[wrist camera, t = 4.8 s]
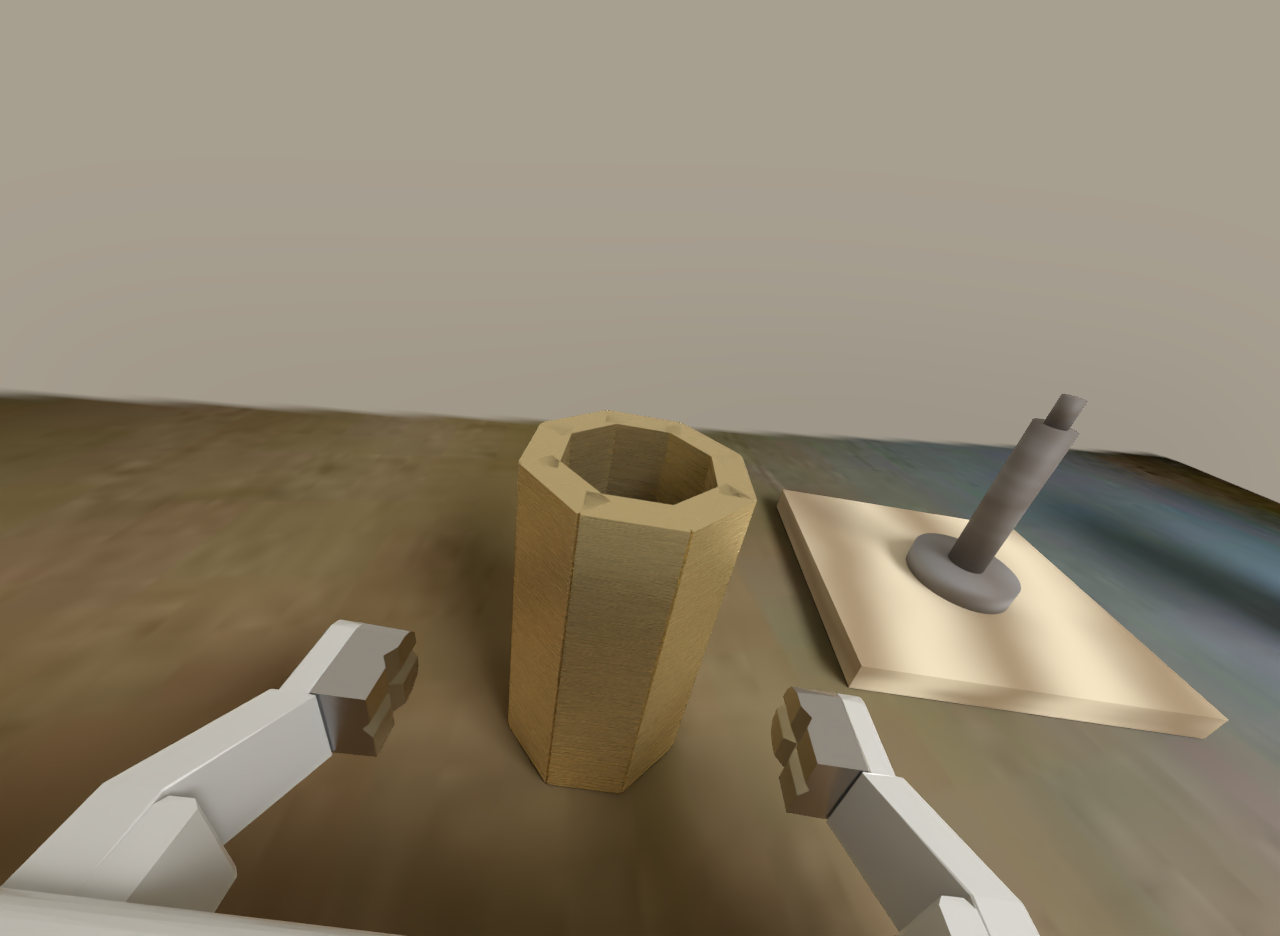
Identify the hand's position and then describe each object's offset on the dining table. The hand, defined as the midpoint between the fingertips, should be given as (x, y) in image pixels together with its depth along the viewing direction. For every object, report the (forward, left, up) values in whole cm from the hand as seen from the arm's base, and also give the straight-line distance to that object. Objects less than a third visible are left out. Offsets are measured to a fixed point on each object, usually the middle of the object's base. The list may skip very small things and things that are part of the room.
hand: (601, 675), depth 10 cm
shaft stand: (+9, +17, -5) cm, 20 cm away
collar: (-1, +2, -5) cm, 6 cm away
